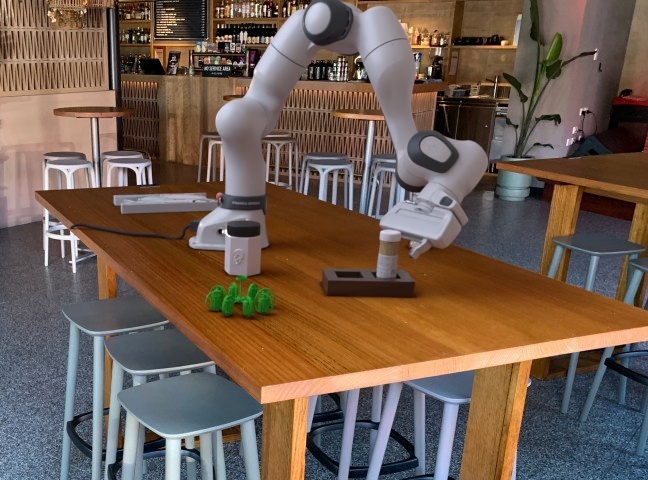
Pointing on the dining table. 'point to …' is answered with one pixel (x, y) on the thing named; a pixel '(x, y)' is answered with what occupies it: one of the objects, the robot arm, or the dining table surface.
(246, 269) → the jar
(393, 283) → the holder
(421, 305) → the dining table surface
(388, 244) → the sprinkles bottle
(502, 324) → the dining table surface
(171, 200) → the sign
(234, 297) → the chandelier
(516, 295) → the dining table surface
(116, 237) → the dining table surface
